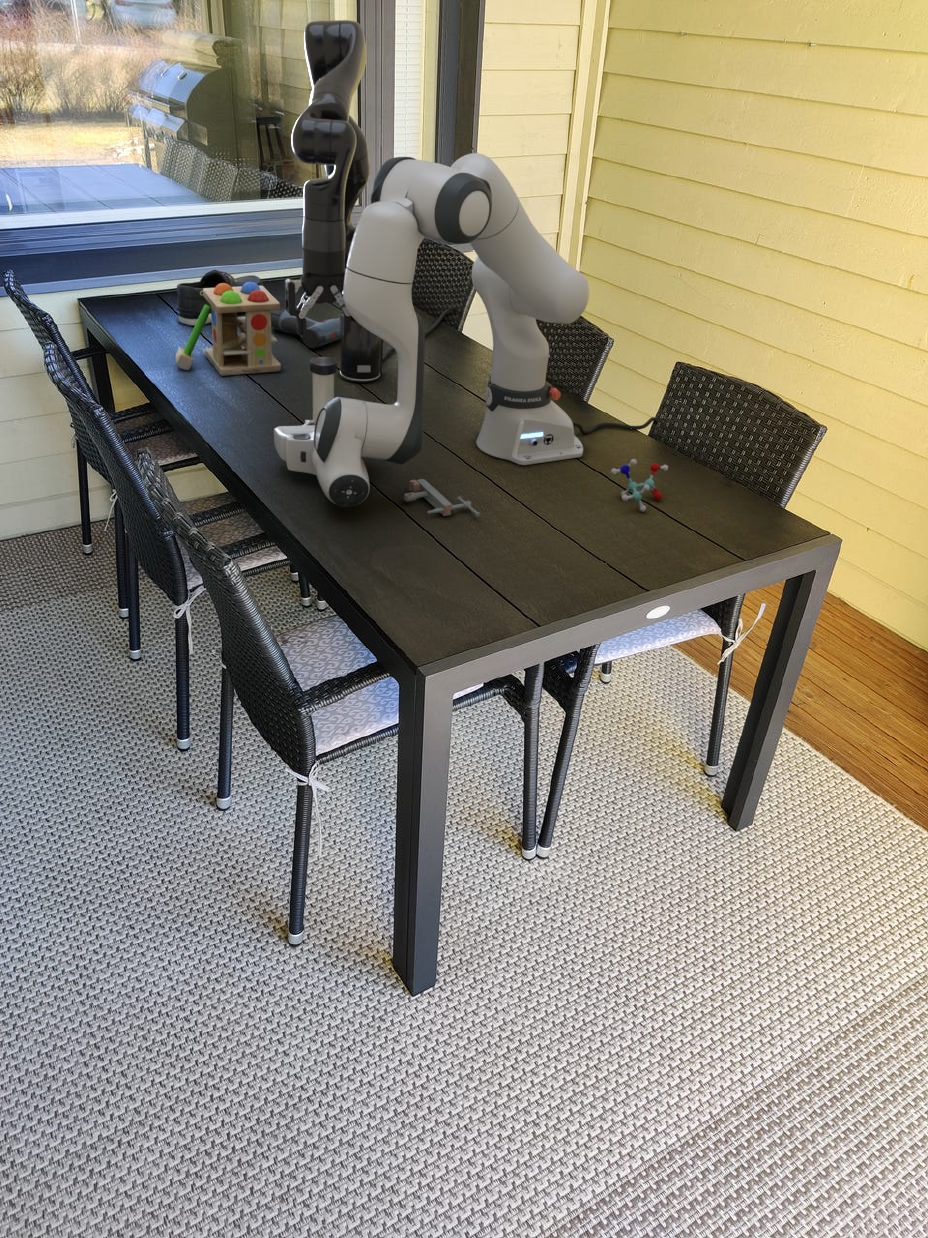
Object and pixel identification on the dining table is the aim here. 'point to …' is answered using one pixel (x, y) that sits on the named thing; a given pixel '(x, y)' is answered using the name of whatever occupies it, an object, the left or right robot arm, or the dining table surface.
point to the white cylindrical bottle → (321, 392)
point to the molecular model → (633, 485)
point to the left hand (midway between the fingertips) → (323, 335)
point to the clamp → (434, 498)
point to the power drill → (308, 328)
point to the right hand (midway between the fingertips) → (322, 422)
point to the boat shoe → (193, 297)
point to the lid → (323, 365)
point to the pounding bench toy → (229, 347)
